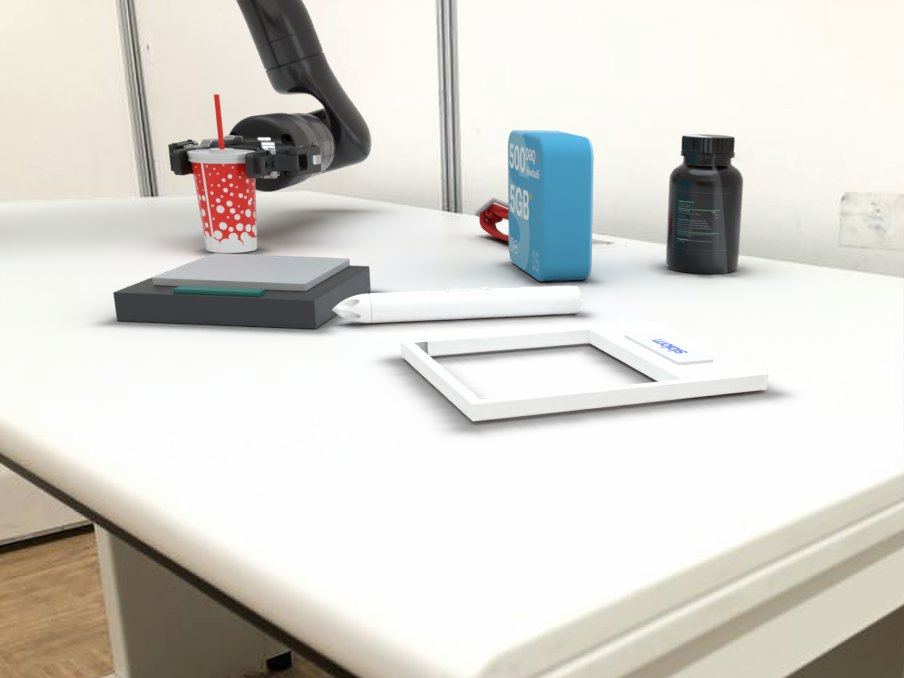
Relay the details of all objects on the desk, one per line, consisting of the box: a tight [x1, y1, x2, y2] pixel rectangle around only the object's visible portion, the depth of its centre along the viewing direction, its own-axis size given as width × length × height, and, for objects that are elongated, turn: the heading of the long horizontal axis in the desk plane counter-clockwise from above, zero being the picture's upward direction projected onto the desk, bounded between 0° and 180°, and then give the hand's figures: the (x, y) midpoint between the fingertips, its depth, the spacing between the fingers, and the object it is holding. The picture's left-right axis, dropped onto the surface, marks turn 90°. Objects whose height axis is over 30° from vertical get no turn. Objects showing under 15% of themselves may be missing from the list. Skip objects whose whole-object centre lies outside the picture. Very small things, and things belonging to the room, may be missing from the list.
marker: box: [332, 285, 582, 324], centre depth 80 cm, size 18×2×2 cm, turn 111°
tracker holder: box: [474, 197, 509, 243], centre depth 116 cm, size 12×4×10 cm
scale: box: [112, 252, 372, 330], centre depth 83 cm, size 14×14×3 cm
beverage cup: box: [187, 93, 258, 254], centre depth 103 cm, size 6×6×14 cm
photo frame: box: [399, 321, 769, 422], centre depth 67 cm, size 15×1×18 cm
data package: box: [507, 129, 595, 282], centre depth 98 cm, size 12×4×12 cm, turn 20°
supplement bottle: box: [665, 133, 744, 275], centre depth 102 cm, size 7×7×12 cm
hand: (213, 164), depth 101 cm, fingers closed on beverage cup, 6 cm apart
